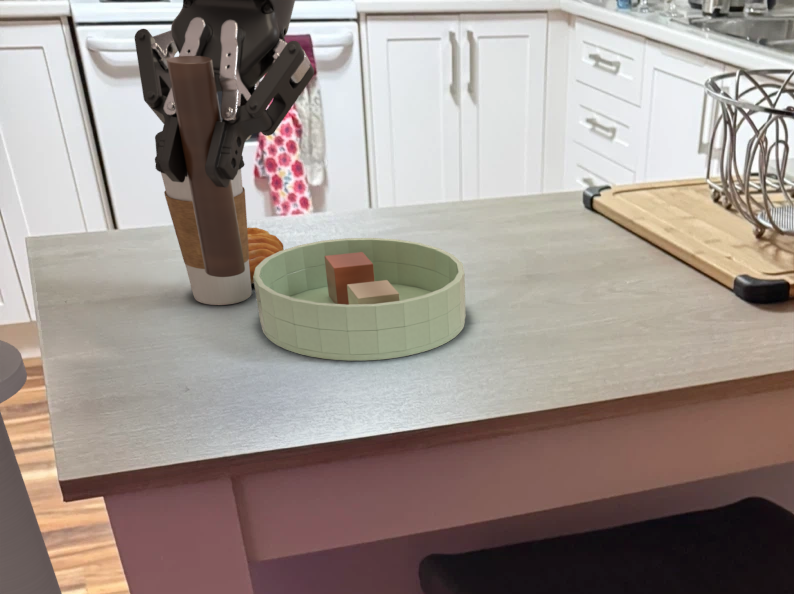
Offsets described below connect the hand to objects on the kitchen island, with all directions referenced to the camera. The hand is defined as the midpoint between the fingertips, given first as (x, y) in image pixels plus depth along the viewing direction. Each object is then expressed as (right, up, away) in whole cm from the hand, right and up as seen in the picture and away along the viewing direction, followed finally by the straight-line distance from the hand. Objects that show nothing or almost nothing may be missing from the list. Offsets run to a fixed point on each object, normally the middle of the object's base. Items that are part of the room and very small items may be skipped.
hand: (194, 177), depth 74 cm
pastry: (-6, +10, +41) cm, 42 cm away
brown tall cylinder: (0, -4, +6) cm, 7 cm away
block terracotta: (+5, +4, +33) cm, 34 cm away
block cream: (+9, -1, +27) cm, 28 cm away
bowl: (+7, +1, +30) cm, 31 cm away
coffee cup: (-9, +6, +35) cm, 36 cm away
